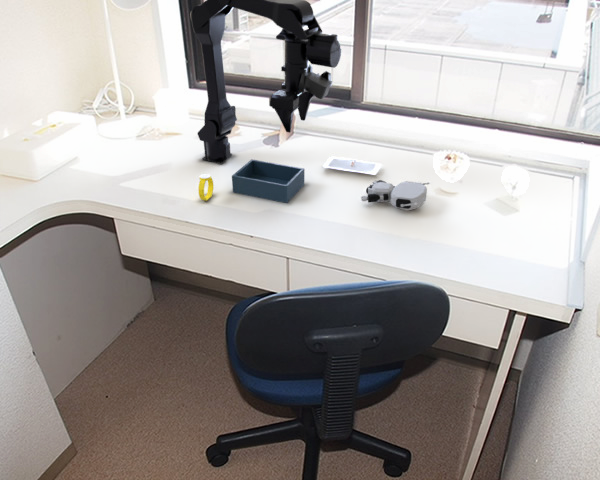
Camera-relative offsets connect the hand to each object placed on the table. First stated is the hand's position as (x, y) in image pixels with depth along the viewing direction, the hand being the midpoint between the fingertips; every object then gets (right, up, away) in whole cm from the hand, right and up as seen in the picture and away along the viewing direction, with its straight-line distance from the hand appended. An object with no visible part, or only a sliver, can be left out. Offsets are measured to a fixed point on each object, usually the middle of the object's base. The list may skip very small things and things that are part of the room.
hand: (295, 126), depth 141 cm
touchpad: (+16, -8, +13) cm, 22 cm away
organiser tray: (-7, -15, +3) cm, 17 cm away
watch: (-22, -19, -1) cm, 29 cm away
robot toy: (+25, -20, -3) cm, 32 cm away
